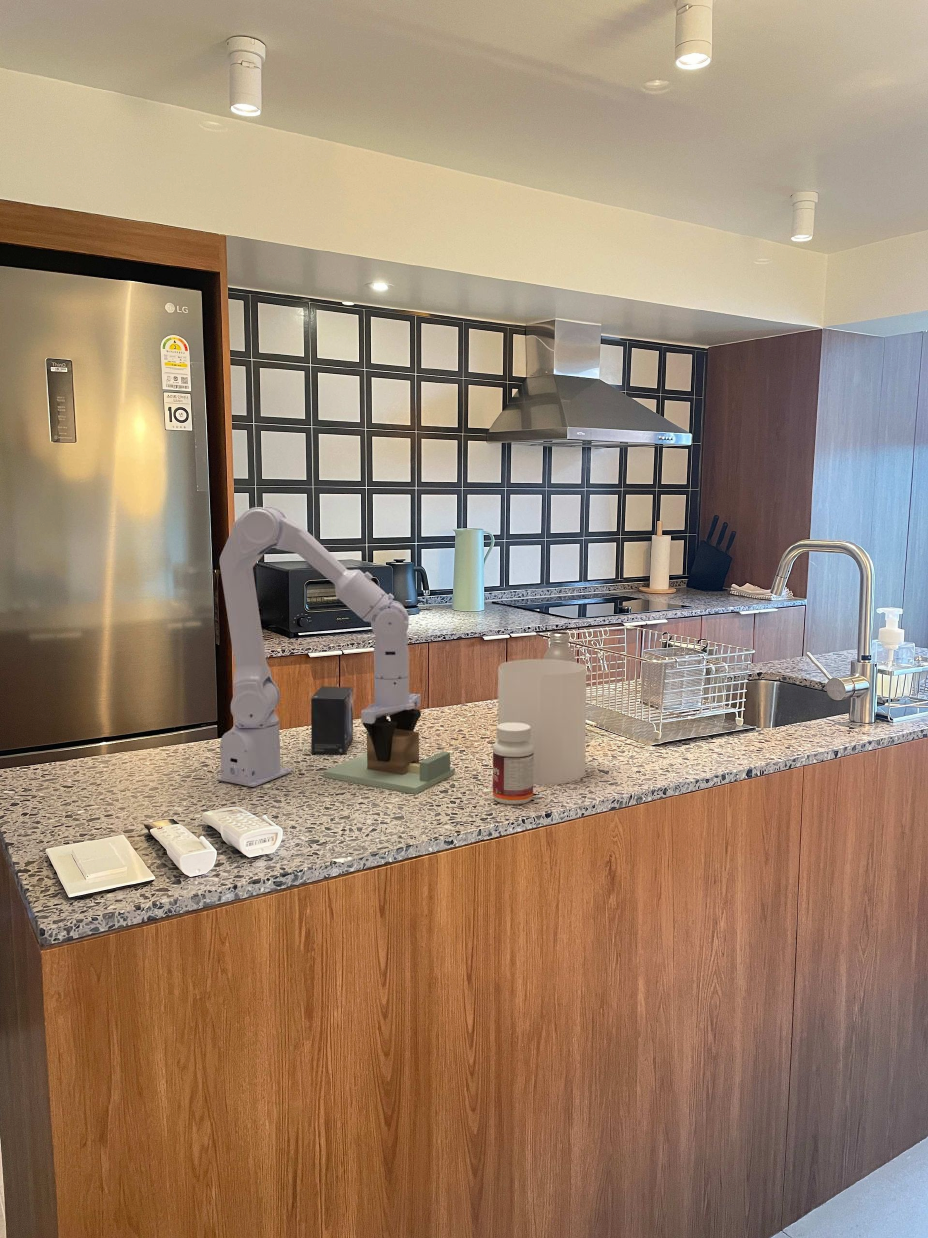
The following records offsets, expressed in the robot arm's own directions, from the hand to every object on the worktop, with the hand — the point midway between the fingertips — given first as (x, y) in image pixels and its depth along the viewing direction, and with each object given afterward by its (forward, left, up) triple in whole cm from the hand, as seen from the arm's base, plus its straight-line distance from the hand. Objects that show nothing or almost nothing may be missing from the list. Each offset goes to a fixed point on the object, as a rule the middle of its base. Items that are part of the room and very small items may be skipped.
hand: (392, 756), depth 146 cm
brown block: (0, 0, -2) cm, 2 cm away
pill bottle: (-2, -23, -3) cm, 23 cm away
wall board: (-1, 0, -3) cm, 3 cm away
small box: (+8, +19, -3) cm, 21 cm away
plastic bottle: (+36, -14, -3) cm, 39 cm away
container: (+13, -21, -3) cm, 25 cm away
